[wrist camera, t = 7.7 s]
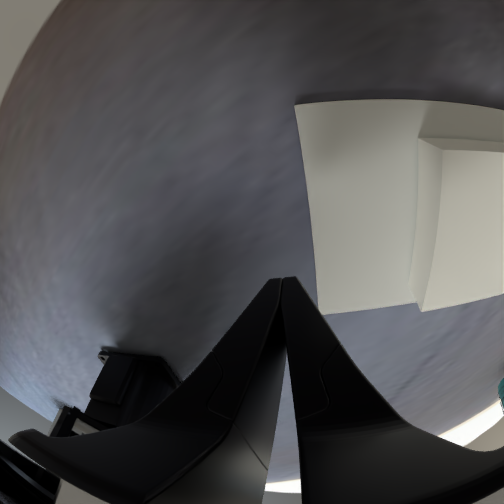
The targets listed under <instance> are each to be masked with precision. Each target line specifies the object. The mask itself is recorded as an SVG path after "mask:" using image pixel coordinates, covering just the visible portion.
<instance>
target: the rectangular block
mask: <svg viewBox="0 0 504 504" xmlns="http://www.w3.org/2000/svg"><path fill="white" fill-rule="evenodd" d="M408 284H409V286H410V289H411V291H412V293H413V295H414V297H415V299H416V301H417V304H418V306H419V308H420V310H421V312H424V311H429V310H435V309H440V308H445V307H449V306H454V305H459V304H463V303H468V302H472V301H476V300H481V299H485V298H489V297H493V296H497V295H500V294H504V143H503V142H493V141H482V140H467V139H444V138H418V202H417V218H416V230H415V240H414V248H413V256H412V264H411V271H410V277H409V283H408Z"/></svg>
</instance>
